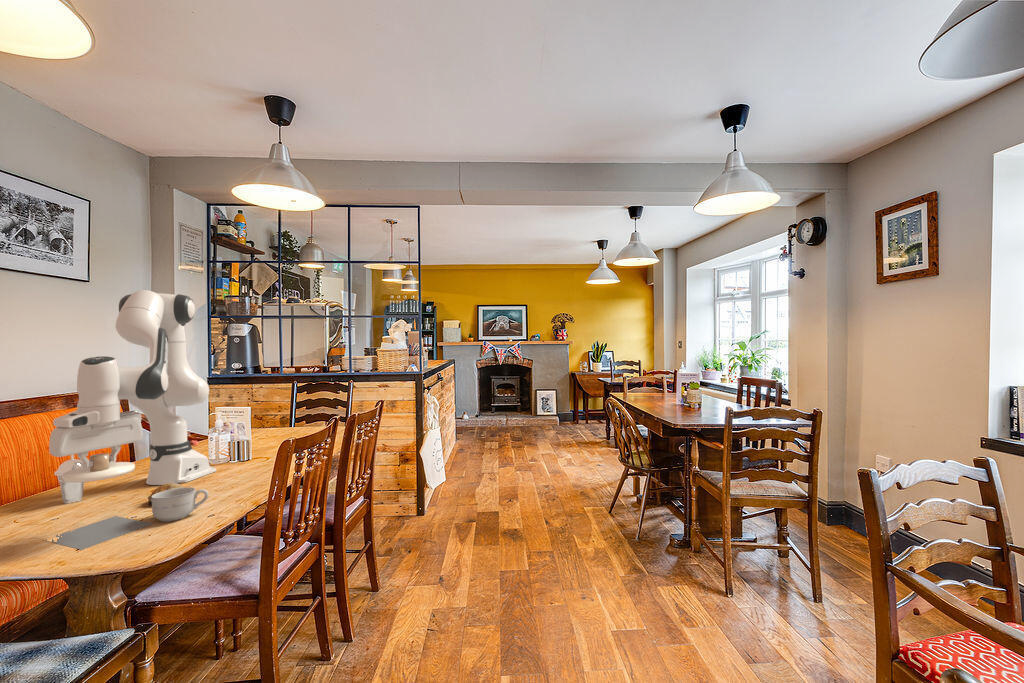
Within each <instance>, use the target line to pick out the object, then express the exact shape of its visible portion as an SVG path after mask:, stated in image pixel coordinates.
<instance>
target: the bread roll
mask: <svg viewBox="0 0 1024 683" xmlns="http://www.w3.org/2000/svg"><path fill="white" fill-rule="evenodd" d="M177 488H185V487H184V486H183V485H182V484H180V483H167V484H163V485H159V486H158V487H156V488H155V489H154V490H152V492H151V493H150V495H149V496H148V497H147V499H148V501H147V502H148V503H147V504H148V505H149V506H151V507H152V498H151V496H152V495H154V494H156V493H159V492H162V491H166V490H171V489H177Z"/></svg>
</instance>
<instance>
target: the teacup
mask: <svg viewBox="0 0 1024 683" xmlns="http://www.w3.org/2000/svg"><path fill="white" fill-rule="evenodd" d="M200 493H203V494H204V497H203V499H201V500H200V501H198V502H196V499H197V498H198V495H199V494H200ZM208 497H209V492H208V490H207V489H205V488H204V489H203V488H200V489H198V490H197V489H196V488H195V487H192V486H190V487H184V488H177V489H171V490H166V491H162V492H159V493H156V494H154V495H152V496H151V498H152V506H151V512H152V516H153V517H154V518H155V519H157V520H158V521H160V522H162V523H163V522H164V523H166V522H167V523H169V522H175V521H178V520H183V519H184V518H187V517H188V516H189V515H190V514H191V513H192V512H193V511H194V510H197V508H199V506H201V505H202V504H204V503H205V502H206V501H207V500H208Z"/></svg>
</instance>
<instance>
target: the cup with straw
mask: <svg viewBox="0 0 1024 683" xmlns="http://www.w3.org/2000/svg"><path fill="white" fill-rule="evenodd" d="M81 467H83V461H81V460H80V459H79V458H75V454H73V455H70V459H68V460H66V461H63V462H62V463H61V464H59V466H58V468H57V470H56V471H54V476H56V477H57V480H58V483H59V485H60V493H61V499H62V500H63V501H62V502H63V504H72V503H71V502H74V503H77V502H76V501H78V502H80V501H82V500H83V494H84V489H85V482H77V483H71V482H64V481H62V474H63V473H65V472H67V471H70V470H73V469H77V468H81Z"/></svg>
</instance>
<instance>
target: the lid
mask: <svg viewBox="0 0 1024 683" xmlns="http://www.w3.org/2000/svg"><path fill="white" fill-rule="evenodd" d="M109 456H110V453H108V452H107V453H96V454H92V455H90V456H89V460H92V461H93V467H90V468H83V467H81V468H77V469H73V470H70V471H67V472H65V473H63V474H62V481H64V482H71V483H77V482H84V483H88V482H96V481H101V480H102V481H104V480H108V479H112V478H113V479H114V478H117V477H121V476H124V475H128V474H130V473H132V472H134V471H135V469H136V464H135V463H134V462H131V461H130V462H129V461H116V462H112V463H109Z"/></svg>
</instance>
